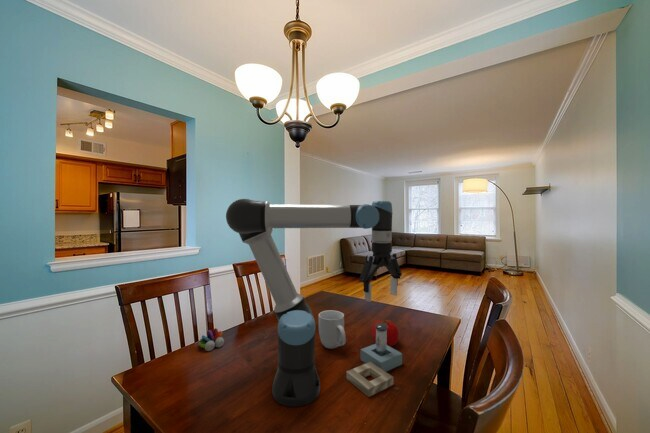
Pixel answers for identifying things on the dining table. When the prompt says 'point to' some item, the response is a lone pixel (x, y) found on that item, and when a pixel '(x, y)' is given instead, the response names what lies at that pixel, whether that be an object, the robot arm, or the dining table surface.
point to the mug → (331, 329)
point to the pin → (381, 339)
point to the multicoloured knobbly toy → (211, 340)
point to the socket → (382, 362)
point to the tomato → (391, 332)
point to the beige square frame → (373, 386)
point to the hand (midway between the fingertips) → (381, 297)
